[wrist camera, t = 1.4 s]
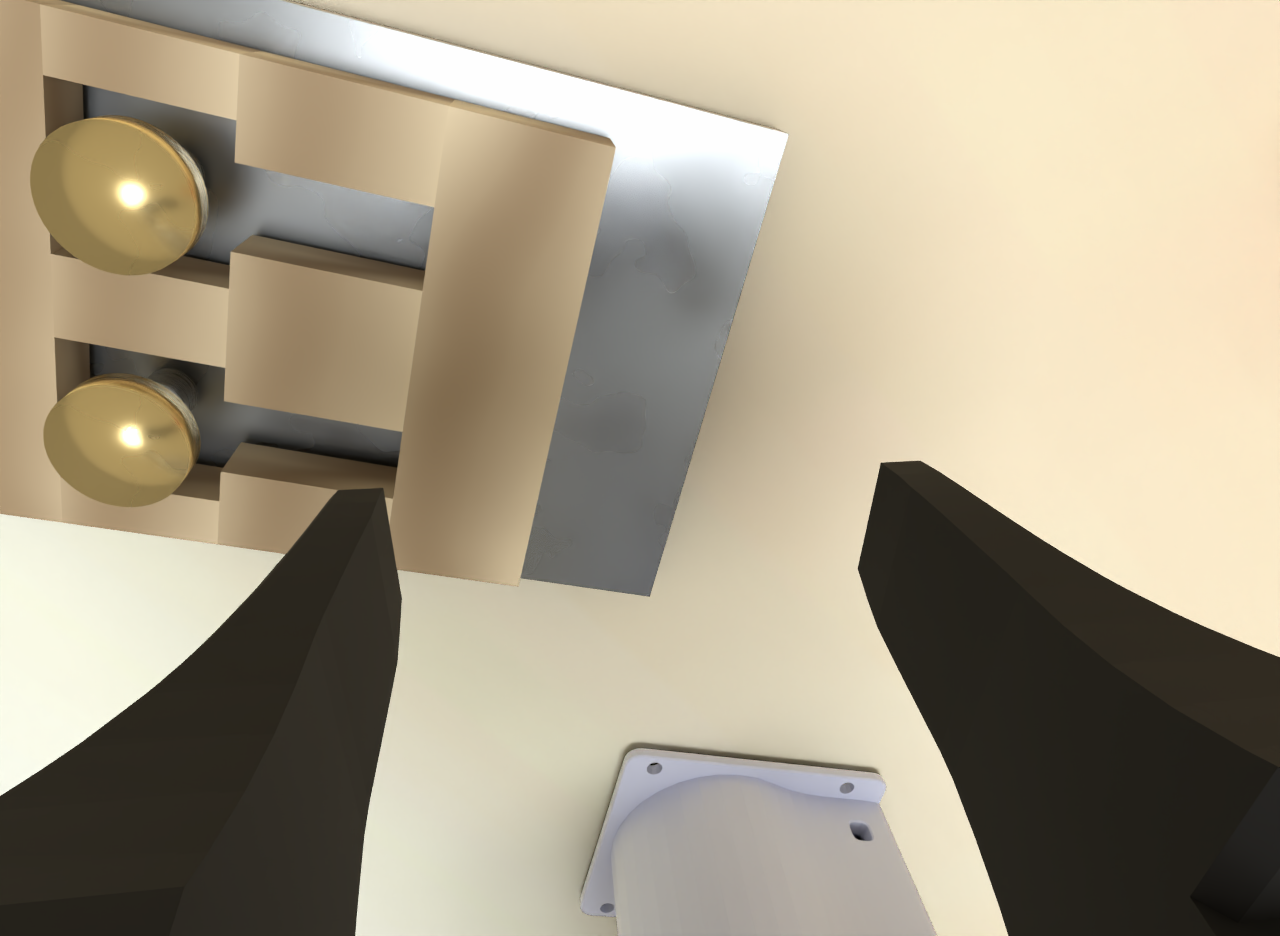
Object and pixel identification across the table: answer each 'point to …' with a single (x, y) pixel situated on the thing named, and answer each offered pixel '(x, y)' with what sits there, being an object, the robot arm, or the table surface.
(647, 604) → the table surface
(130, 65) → the panel
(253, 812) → the robot arm
